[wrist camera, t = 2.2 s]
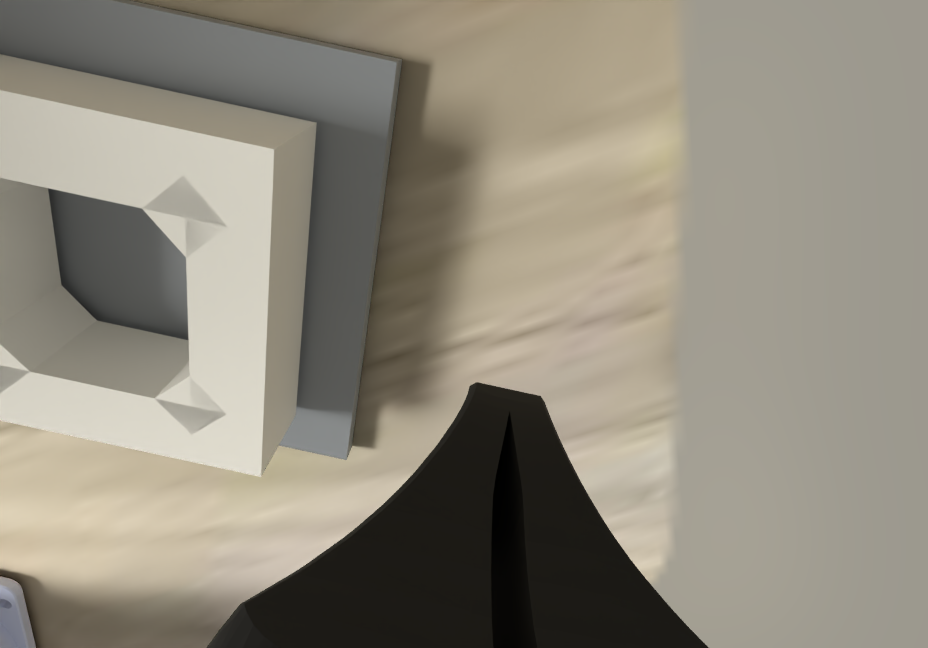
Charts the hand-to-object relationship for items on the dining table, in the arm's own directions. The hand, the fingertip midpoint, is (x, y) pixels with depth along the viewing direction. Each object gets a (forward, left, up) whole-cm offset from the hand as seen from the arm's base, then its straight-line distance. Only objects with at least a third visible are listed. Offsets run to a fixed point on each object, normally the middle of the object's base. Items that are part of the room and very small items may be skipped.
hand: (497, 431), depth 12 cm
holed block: (0, +9, -4) cm, 10 cm away
